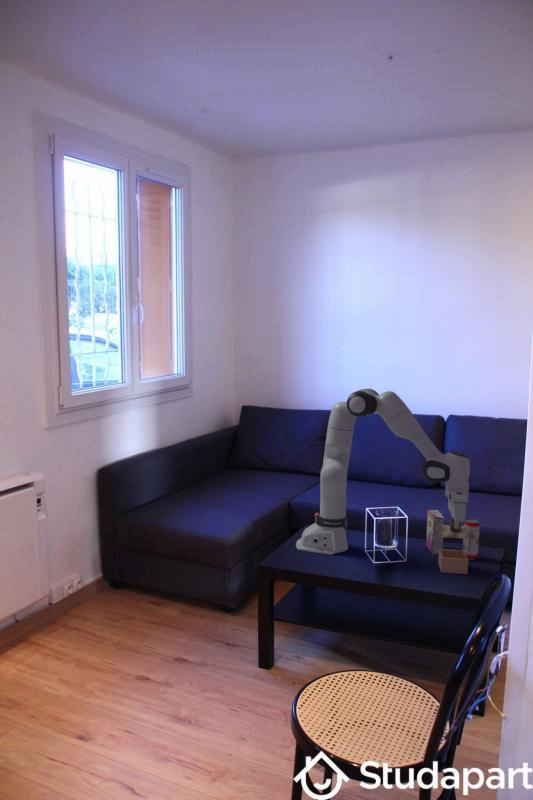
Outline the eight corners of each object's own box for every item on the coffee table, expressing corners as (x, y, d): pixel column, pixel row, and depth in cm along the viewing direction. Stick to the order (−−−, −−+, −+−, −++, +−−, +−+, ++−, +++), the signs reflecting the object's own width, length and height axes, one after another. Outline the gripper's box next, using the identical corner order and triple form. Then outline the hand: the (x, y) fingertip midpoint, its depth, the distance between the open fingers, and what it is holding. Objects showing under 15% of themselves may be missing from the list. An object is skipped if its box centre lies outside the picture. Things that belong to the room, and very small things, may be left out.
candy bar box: (425, 545, 278) (427, 509, 276) (436, 545, 278) (438, 509, 276) (431, 554, 267) (433, 517, 265) (443, 555, 267) (445, 517, 265)
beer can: (475, 555, 267) (478, 518, 265) (479, 560, 261) (481, 523, 259) (460, 554, 268) (462, 518, 266) (463, 559, 262) (466, 522, 260)
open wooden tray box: (441, 572, 248) (442, 557, 247) (438, 562, 258) (438, 548, 257) (467, 574, 246) (468, 559, 246) (463, 564, 256) (464, 550, 255)
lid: (440, 537, 245) (440, 524, 244) (436, 526, 257) (436, 514, 257) (474, 539, 243) (475, 526, 242) (469, 528, 255) (469, 516, 255)
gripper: (445, 485, 259) (443, 518, 260) (452, 498, 239) (450, 533, 240) (461, 486, 258) (459, 518, 260) (469, 499, 238) (467, 535, 239)
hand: (455, 526), depth 250 cm, fingers closed on lid, 3 cm apart
